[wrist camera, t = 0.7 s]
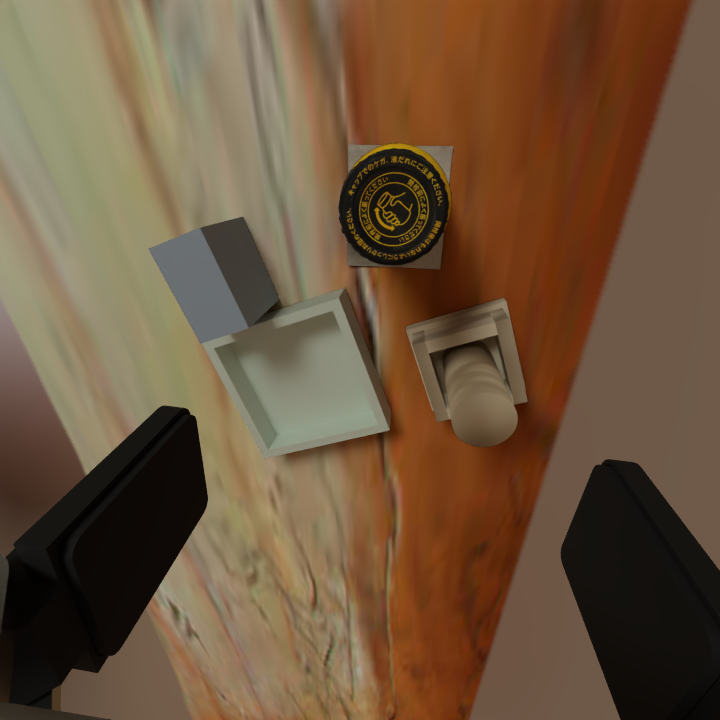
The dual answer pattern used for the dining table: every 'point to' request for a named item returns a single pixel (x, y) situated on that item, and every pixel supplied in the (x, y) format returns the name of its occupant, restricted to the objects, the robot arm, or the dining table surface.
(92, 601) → the robot arm
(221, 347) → the tray
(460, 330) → the socket block
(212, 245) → the block
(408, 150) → the condiment
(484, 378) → the dowel
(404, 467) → the dining table surface
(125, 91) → the dining table surface
